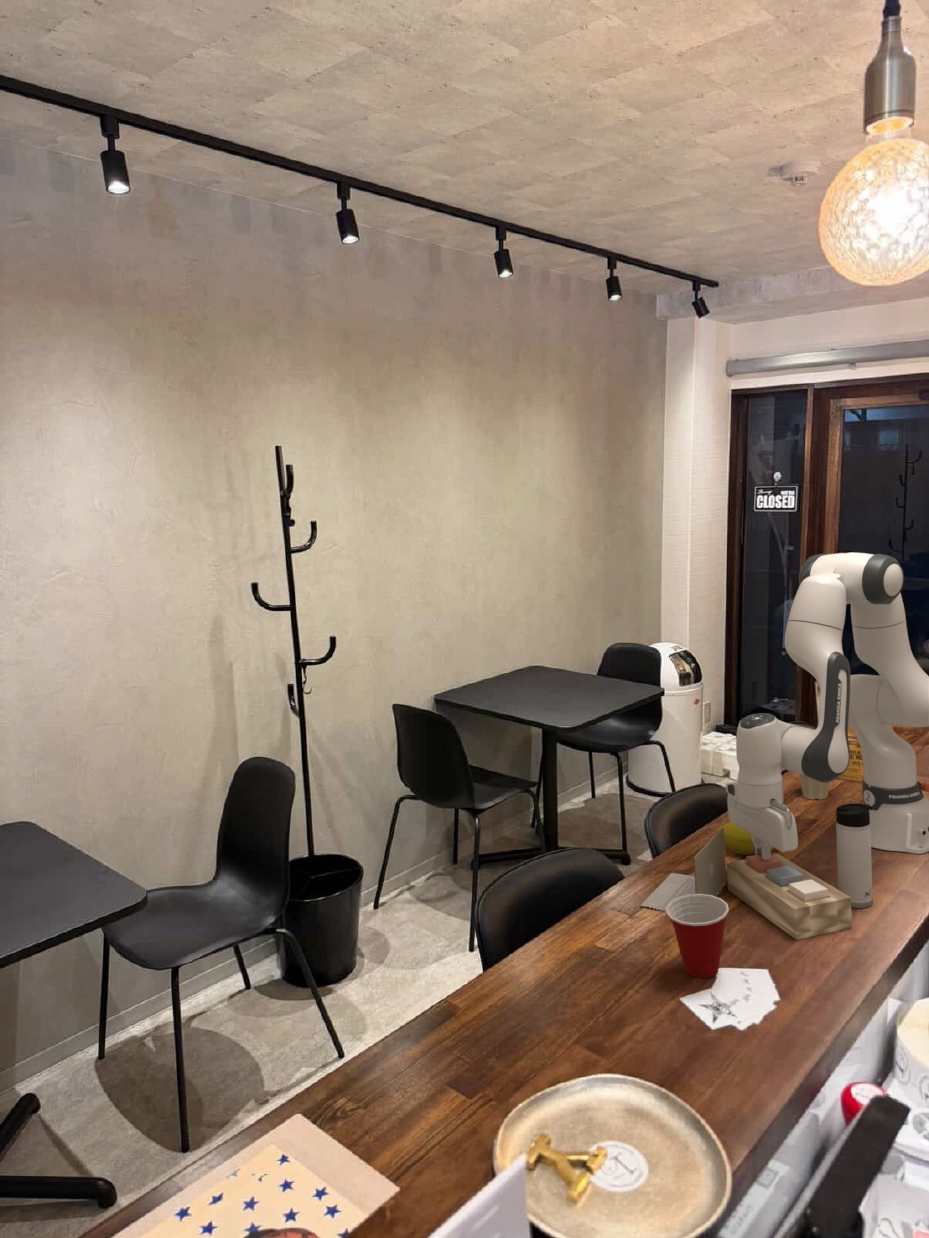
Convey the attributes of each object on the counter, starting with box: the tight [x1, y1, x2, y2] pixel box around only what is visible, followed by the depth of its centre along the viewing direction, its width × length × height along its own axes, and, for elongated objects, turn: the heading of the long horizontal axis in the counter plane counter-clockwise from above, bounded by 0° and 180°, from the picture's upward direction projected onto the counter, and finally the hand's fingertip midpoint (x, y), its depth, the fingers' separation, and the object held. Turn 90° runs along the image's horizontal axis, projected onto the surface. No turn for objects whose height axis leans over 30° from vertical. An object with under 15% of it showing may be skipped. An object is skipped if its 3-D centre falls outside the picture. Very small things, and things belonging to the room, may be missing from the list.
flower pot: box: [798, 774, 830, 801], centre depth 240 cm, size 9×9×9 cm
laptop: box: [639, 828, 727, 913], centre depth 186 cm, size 18×12×13 cm
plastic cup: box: [665, 894, 730, 979], centre depth 156 cm, size 11×11×12 cm
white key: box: [789, 879, 828, 903], centre depth 169 cm, size 5×5×3 cm
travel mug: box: [835, 802, 874, 909], centre depth 176 cm, size 6×7×20 cm
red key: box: [745, 854, 781, 873], centre depth 184 cm, size 5×5×3 cm
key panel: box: [726, 852, 853, 941], centre depth 177 cm, size 12×24×6 cm, turn 14°
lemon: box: [717, 821, 756, 856], centre depth 206 cm, size 11×8×8 cm
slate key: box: [767, 865, 804, 887], centre depth 177 cm, size 5×5×3 cm
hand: (763, 857), depth 183 cm, fingers closed
